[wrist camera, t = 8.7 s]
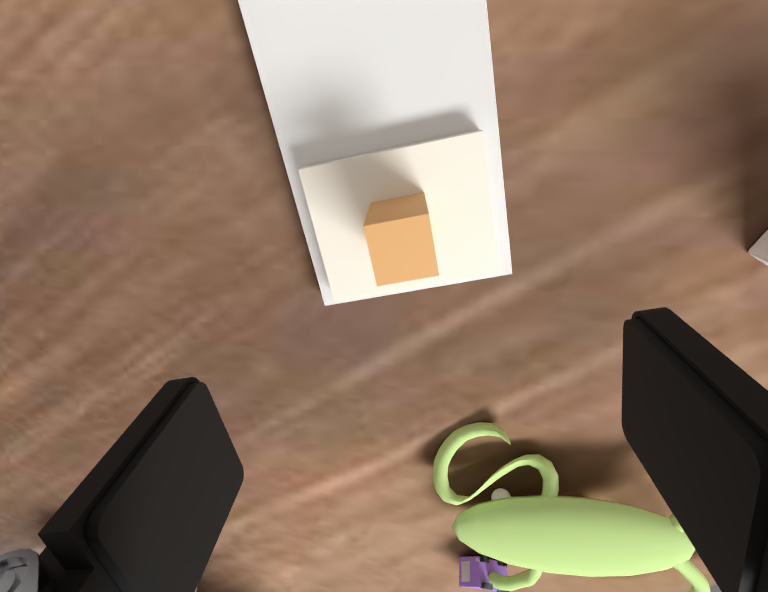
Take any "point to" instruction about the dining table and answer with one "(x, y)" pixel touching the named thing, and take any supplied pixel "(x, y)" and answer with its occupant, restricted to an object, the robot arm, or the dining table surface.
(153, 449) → the robot arm
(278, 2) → the board
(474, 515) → the figurine
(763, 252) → the ink cartridge box
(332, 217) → the stub
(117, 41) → the dining table surface
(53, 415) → the dining table surface
